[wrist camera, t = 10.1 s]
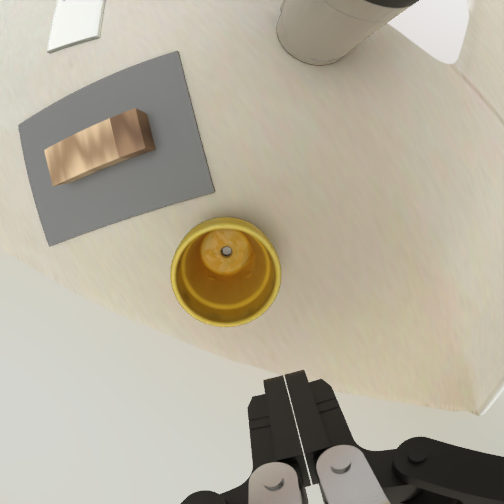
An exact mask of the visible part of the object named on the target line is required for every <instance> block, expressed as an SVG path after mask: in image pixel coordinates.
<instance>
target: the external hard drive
mask: <svg viewBox="0 0 504 504" xmlns="http://www.w3.org/2000/svg"><path fill="white" fill-rule="evenodd" d="M105 2H106V0H57V4H56V8H55V12H54V16H53V21H52V25H51V30H50V36H49V41H48V47H47V52H48V53H52V52H55V51H58V50H61V49H64V48H67V47H70V46H73V45H76V44H80V43H83V42H87V41H90V40H94V39H98V38H100V33H101V26H102V19H103V13H104V7H105Z"/></svg>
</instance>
